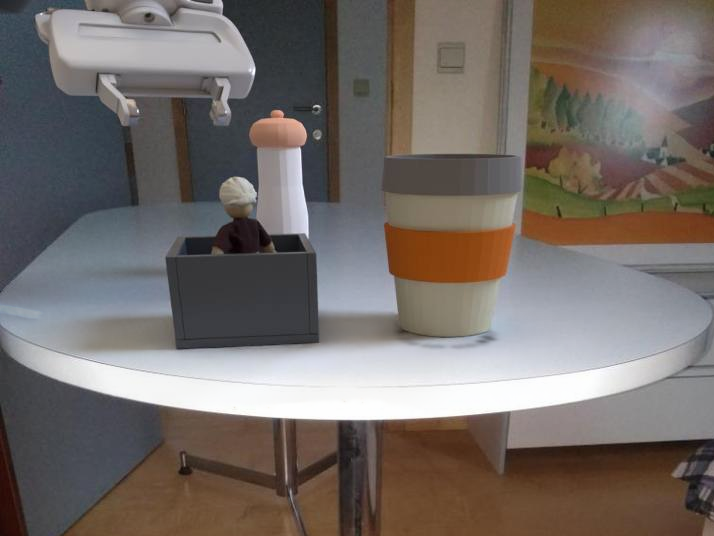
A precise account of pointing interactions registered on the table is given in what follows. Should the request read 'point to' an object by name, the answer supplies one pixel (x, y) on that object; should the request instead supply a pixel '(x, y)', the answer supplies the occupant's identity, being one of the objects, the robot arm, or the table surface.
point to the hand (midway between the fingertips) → (179, 121)
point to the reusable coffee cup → (449, 237)
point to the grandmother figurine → (240, 221)
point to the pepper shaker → (280, 174)
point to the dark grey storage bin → (243, 293)
